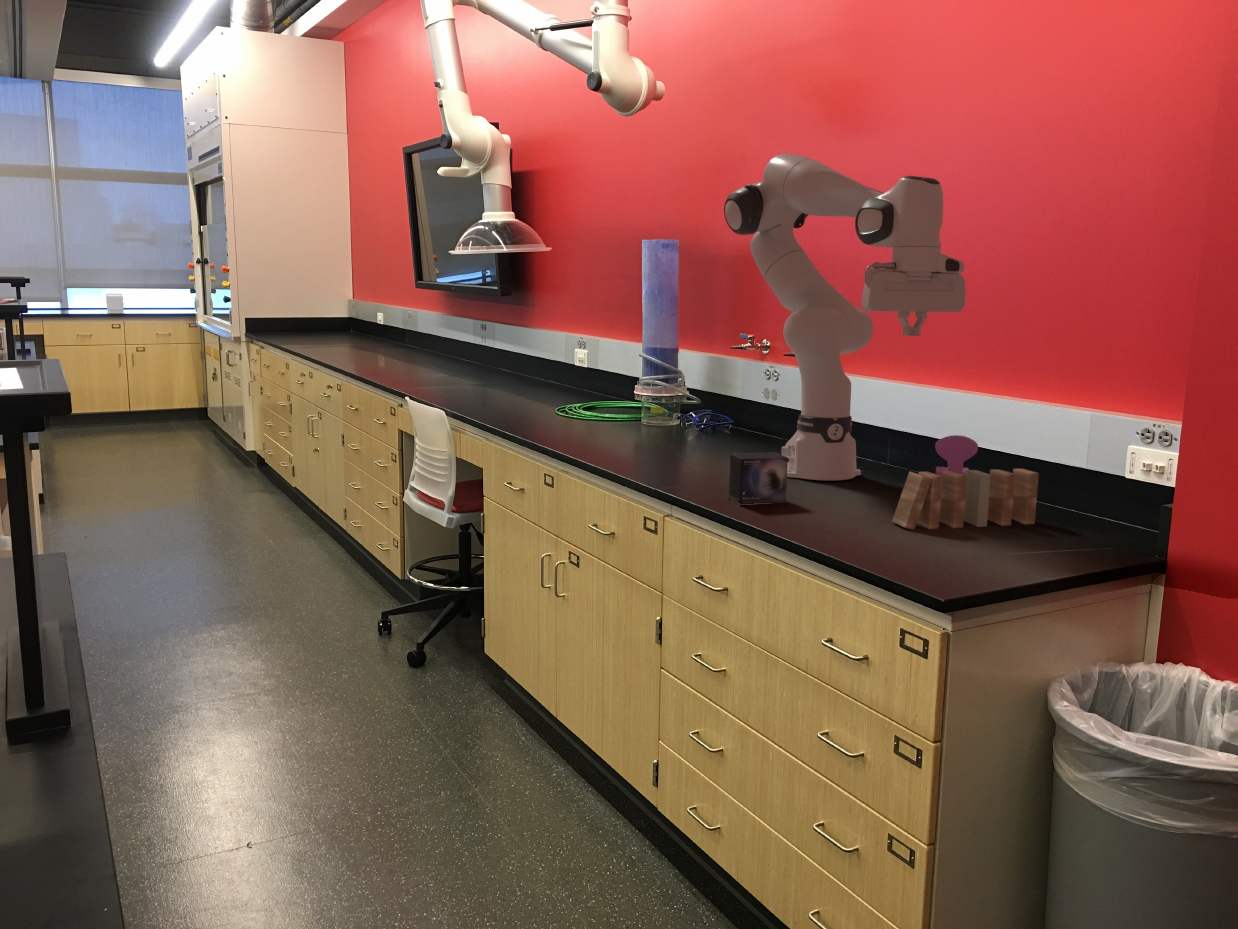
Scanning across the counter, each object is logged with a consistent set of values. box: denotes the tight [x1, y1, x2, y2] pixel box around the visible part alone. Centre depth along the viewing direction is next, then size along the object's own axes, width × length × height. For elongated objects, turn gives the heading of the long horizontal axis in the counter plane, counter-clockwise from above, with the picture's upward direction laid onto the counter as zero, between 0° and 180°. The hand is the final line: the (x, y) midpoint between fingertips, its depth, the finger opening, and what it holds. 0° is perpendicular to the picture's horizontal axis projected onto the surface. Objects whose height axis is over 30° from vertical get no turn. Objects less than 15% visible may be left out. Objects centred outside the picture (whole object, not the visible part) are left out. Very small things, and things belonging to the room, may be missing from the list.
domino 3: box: [939, 471, 967, 529], centre depth 186 cm, size 2×5×10 cm, turn 12°
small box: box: [728, 451, 788, 504], centre depth 203 cm, size 11×6×10 cm, turn 106°
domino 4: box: [964, 469, 991, 528], centre depth 187 cm, size 2×5×10 cm, turn 12°
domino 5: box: [987, 468, 1015, 527], centre depth 188 cm, size 2×5×10 cm, turn 12°
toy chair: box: [934, 435, 979, 505], centre depth 204 cm, size 8×9×15 cm
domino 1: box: [891, 471, 932, 531], centre depth 184 cm, size 2×5×10 cm, turn 12°
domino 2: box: [916, 471, 942, 530], centre depth 185 cm, size 2×5×10 cm, turn 12°
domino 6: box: [1011, 468, 1040, 525], centre depth 189 cm, size 2×5×10 cm, turn 12°
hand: (911, 335), depth 191 cm, fingers closed
